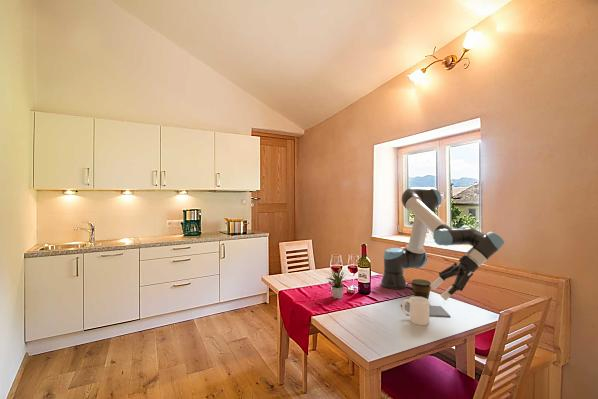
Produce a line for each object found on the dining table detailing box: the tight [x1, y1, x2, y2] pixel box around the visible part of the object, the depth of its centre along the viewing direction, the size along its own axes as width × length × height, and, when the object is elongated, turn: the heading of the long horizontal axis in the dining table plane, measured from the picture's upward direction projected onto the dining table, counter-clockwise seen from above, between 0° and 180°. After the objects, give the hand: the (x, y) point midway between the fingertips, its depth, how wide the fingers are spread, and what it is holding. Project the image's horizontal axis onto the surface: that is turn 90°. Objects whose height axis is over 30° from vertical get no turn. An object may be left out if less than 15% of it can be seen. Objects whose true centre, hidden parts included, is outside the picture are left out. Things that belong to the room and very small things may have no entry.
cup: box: [401, 295, 430, 326], centre depth 131 cm, size 8×12×10 cm
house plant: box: [324, 267, 348, 299], centre depth 162 cm, size 14×14×16 cm
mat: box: [400, 303, 451, 318], centre depth 141 cm, size 20×12×1 cm, turn 83°
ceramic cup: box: [406, 278, 432, 300], centre depth 157 cm, size 13×10×10 cm
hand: (437, 292), depth 129 cm, fingers open, 13 cm apart
